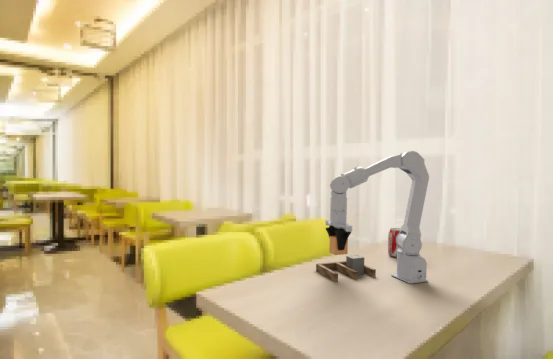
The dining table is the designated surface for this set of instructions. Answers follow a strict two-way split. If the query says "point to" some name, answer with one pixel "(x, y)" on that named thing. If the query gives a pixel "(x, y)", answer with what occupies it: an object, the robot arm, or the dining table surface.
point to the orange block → (334, 247)
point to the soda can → (393, 241)
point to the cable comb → (341, 270)
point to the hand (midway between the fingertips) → (337, 248)
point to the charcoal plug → (355, 263)
